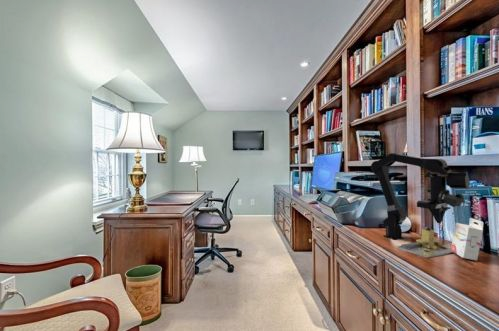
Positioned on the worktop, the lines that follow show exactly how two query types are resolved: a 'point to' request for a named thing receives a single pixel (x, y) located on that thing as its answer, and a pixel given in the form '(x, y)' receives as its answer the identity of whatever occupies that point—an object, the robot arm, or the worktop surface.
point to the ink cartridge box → (467, 239)
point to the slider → (427, 238)
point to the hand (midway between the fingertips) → (438, 223)
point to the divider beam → (418, 244)
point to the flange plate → (428, 251)
